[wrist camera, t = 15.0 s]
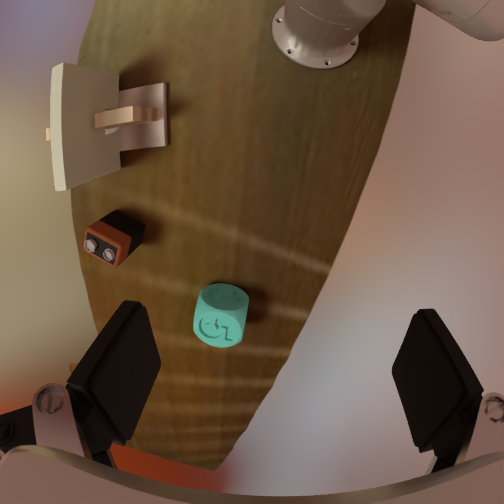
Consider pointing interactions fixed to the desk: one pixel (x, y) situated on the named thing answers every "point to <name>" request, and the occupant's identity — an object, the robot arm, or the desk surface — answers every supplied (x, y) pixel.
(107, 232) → the battery
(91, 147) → the beige rectangular panel
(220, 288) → the decorative dice
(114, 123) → the stand
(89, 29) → the desk surface
